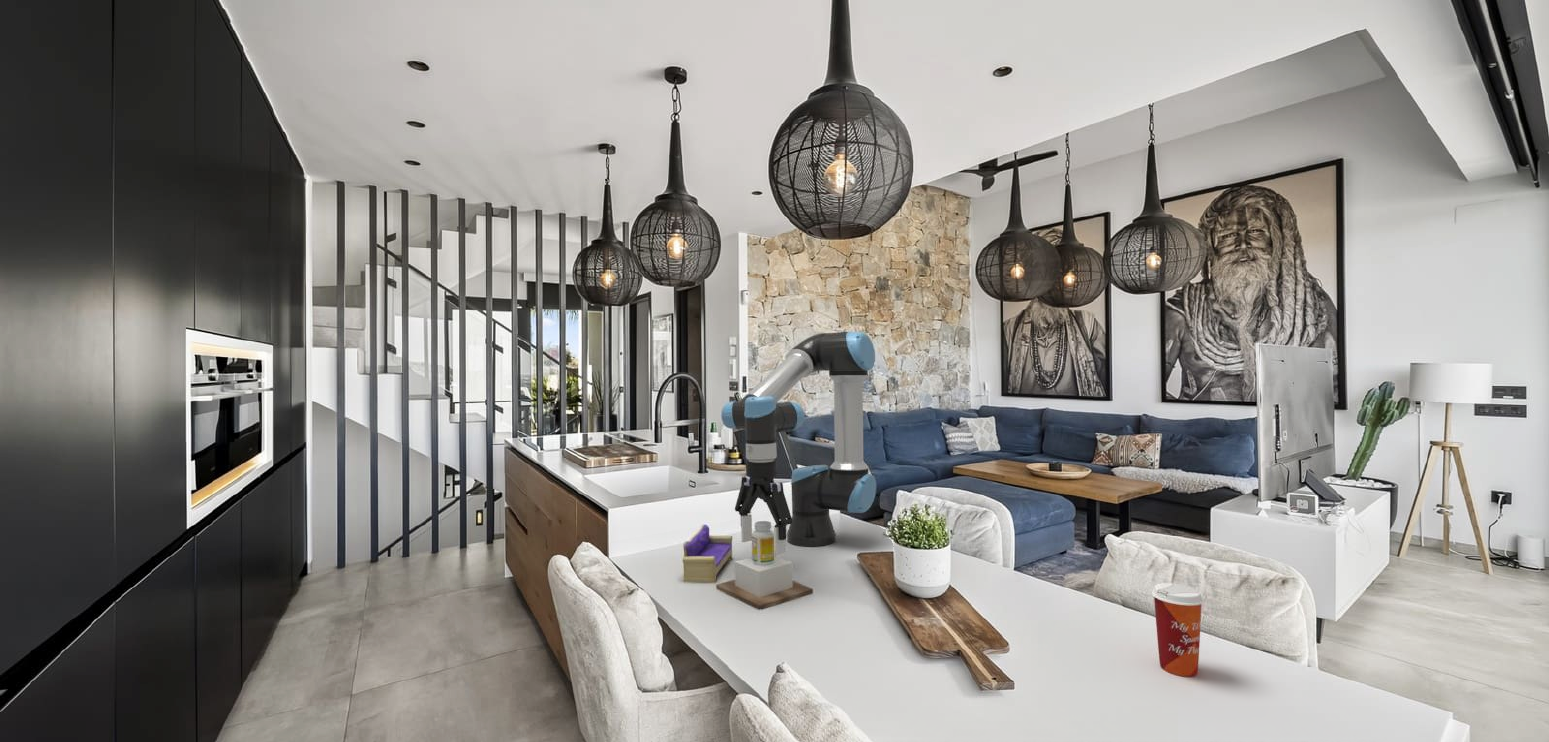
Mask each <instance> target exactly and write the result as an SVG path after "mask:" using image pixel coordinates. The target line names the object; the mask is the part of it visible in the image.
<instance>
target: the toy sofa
mask: <svg viewBox="0 0 1549 742" xmlns="http://www.w3.org/2000/svg"><path fill="white" fill-rule="evenodd" d="M682 545H683V555H684V556H682V563H683V581H684V582H686V583H687V582H688V583H689V582H690V583H692V582H693V583H717V575H718V573H719V571H720V570H721V569H722V567H723V566H724V565H725V564H726V563H727V561H728V560H727V559H731V560H732V559H733V536H732V535H710V527H709V526H708V525H707V524H701V525H700V527H699V529H698V530H697V532H695V534H693V536H692V537H690V539H688V541H687V540H685V541H683V544H682Z"/></svg>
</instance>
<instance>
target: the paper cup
mask: <svg viewBox="0 0 1549 742" xmlns="http://www.w3.org/2000/svg"><path fill="white" fill-rule="evenodd" d="M1151 595H1152V596H1153V601H1154V602H1153V603H1154V612H1155V613H1154V614H1155V624H1156V634H1157V637H1156V639H1157V648H1158V657H1159V666H1160V669H1162V671H1165V672H1167V673H1169V674H1172V675H1173V676H1174V675H1175V676H1179V677H1185V678H1191V677H1196V676H1197V675H1198V673H1199V672H1198V671H1199V662H1200V661H1199V659H1200V643H1201V641H1200V638H1201V624H1202V623H1201V622H1202V604H1204V602H1205V601H1204V599H1203V597H1202V594H1201V592H1200V591H1199V590H1197V589H1196V588H1193V587H1192V586H1188V585H1184V584H1179V583H1173V582H1172V583H1171V582H1167V583H1165V582H1162V583H1158V584H1156V585H1155V586H1154V589H1153V590H1152V592H1151Z"/></svg>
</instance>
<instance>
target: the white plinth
mask: <svg viewBox="0 0 1549 742" xmlns="http://www.w3.org/2000/svg"><path fill="white" fill-rule="evenodd" d="M734 580H735V586H736V587H738V588H741V589H743V590H745V591H747V592H749V593H751V594H753V595H756V596H758V597H762V596H766V595H769V594H772V593H776V592H779V591H782V590H786V589H789V588H792V587H793V581H794V579H793V562H791V561H788V560H786V559H783V558H780V557H779V556H775V555H774V562H773V563H772V564H769V565H757V564H754V563H753V561H752V557H749V558H748V557H747V558H744V559H741V560H735V561H734Z"/></svg>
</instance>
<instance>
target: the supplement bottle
mask: <svg viewBox="0 0 1549 742" xmlns="http://www.w3.org/2000/svg"><path fill="white" fill-rule="evenodd" d="M751 551H752V552H751V556H752V557H751V558H752V561H753V563H754V564H757V565H769V564H772V563H773V562H774V556H775V541H774V531H772V522H771V521H767V520H760V521H755V522H754V531H752V541H751Z"/></svg>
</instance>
